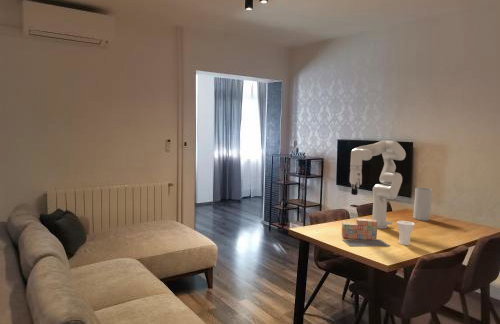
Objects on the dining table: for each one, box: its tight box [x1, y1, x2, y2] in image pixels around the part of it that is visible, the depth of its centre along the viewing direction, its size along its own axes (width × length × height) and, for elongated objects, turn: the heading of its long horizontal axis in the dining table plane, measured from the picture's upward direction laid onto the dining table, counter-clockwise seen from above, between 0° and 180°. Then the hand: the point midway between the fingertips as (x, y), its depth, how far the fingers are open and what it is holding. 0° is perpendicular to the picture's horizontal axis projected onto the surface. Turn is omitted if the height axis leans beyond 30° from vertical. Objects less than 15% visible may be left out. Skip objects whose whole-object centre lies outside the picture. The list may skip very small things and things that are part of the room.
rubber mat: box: [342, 238, 391, 247], centre depth 232 cm, size 26×13×1 cm, turn 98°
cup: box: [396, 220, 415, 246], centre depth 232 cm, size 10×10×14 cm
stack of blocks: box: [341, 218, 378, 240], centre depth 241 cm, size 21×6×12 cm, turn 84°
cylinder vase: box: [412, 187, 433, 222], centre depth 301 cm, size 12×12×25 cm
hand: (354, 194), depth 250 cm, fingers closed
